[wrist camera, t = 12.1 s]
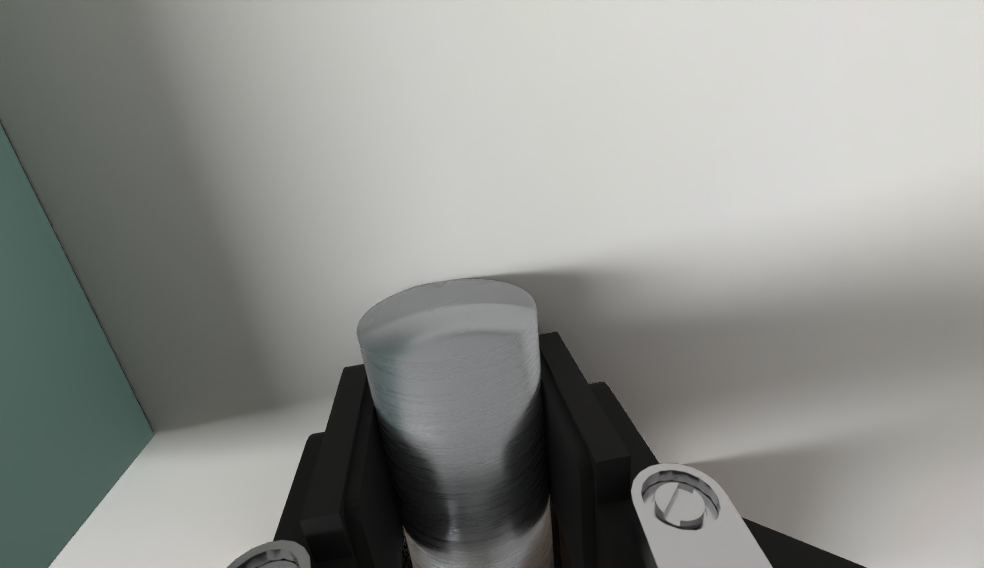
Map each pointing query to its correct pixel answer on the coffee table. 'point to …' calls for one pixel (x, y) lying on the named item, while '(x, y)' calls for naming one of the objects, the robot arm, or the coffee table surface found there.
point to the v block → (52, 387)
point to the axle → (463, 422)
